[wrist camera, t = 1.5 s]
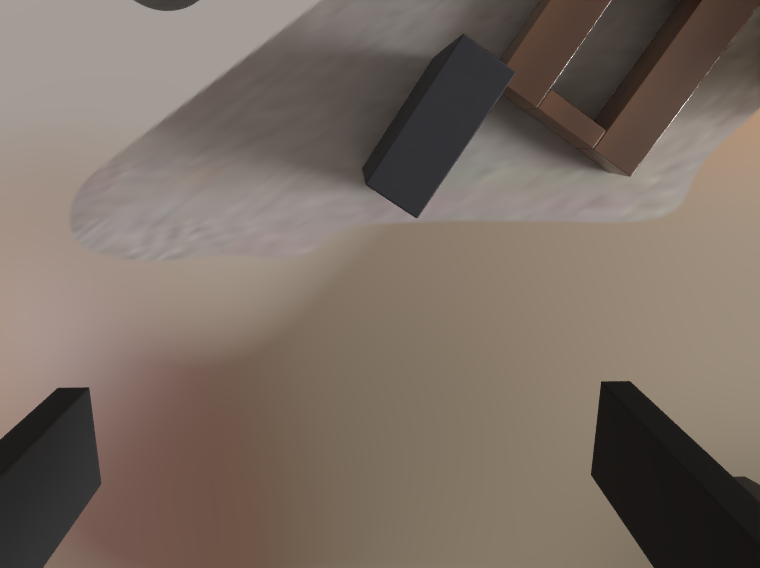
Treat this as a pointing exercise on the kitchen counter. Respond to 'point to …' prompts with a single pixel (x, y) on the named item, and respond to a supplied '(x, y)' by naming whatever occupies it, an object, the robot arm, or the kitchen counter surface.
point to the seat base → (639, 89)
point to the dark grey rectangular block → (436, 124)
